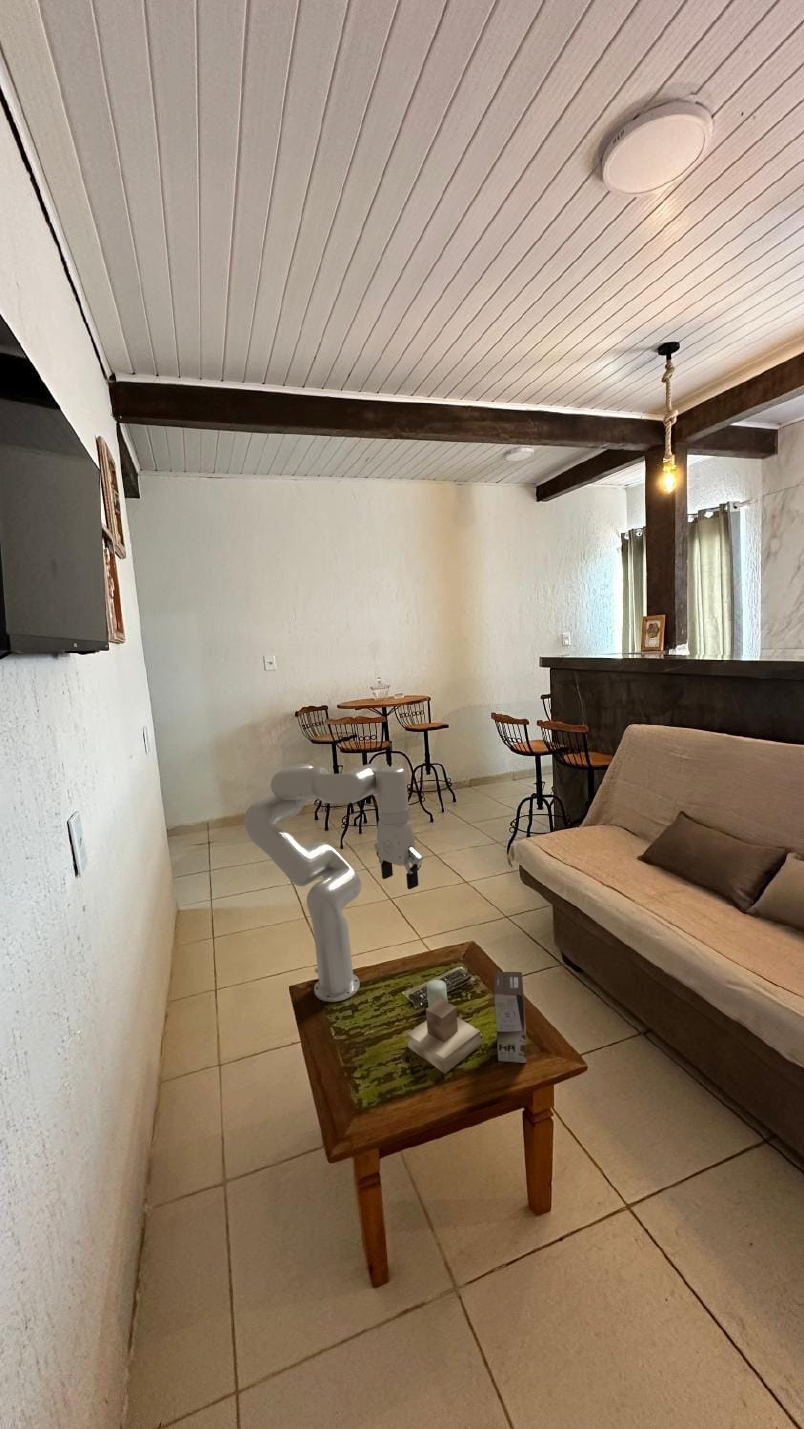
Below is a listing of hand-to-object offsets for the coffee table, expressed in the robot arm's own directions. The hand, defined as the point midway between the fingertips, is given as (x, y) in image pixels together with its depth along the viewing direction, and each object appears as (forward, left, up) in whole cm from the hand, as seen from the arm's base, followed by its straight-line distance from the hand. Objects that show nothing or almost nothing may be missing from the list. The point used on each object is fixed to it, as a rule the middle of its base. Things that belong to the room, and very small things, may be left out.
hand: (400, 882), depth 141 cm
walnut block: (+16, -4, -31) cm, 35 cm away
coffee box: (+28, +6, -34) cm, 45 cm away
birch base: (+16, -4, -35) cm, 39 cm away
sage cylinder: (+5, +5, -34) cm, 35 cm away
